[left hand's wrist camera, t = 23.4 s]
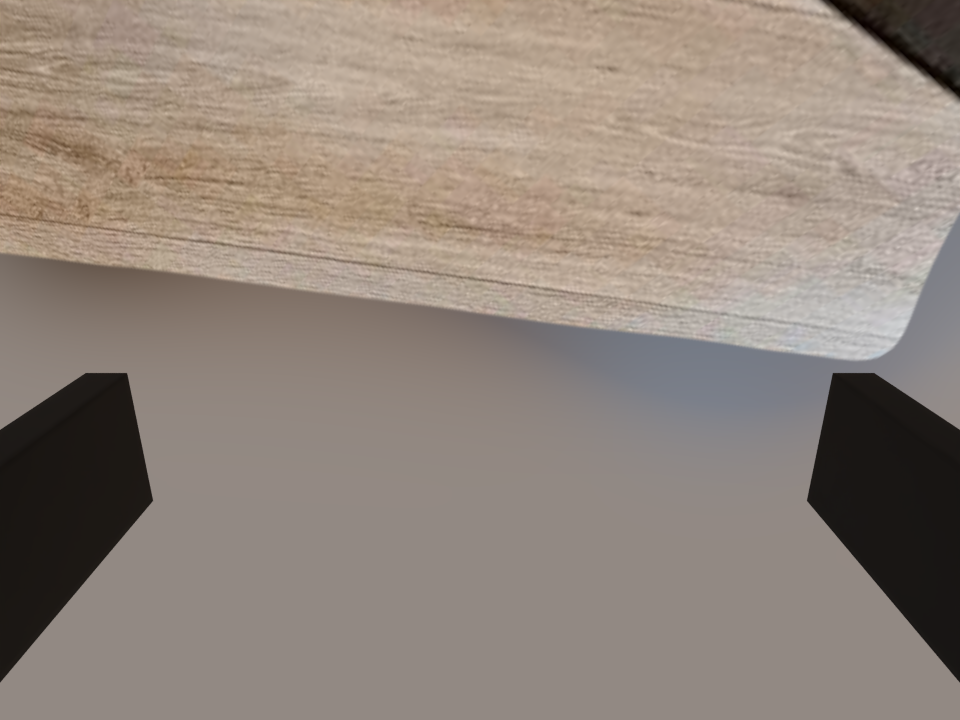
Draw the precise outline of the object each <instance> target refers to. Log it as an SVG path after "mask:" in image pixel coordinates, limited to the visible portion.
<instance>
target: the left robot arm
mask: <svg viewBox="0 0 960 720" xmlns="http://www.w3.org/2000/svg"><path fill="white" fill-rule="evenodd" d="M152 501H153V498H152V493H151V489H150V484H149V479H148V474H147V469H146V464H145V459H144V454H143V449H142V444H141V439H140V434H139V429H138V425H137V420H136V415H135V410H134V405H133V400H132V395H131V390H130V385H129V380H128V375H127V373H85V374H84V375H82V376H81V377H79V378H78V379H76V380H75V381H73V382H72V383H70V384H69V385H67V386H66V387H64V388H63V389H61V390H60V391H58V392H57V393H55V394H54V395H52V396H51V397H49V398H48V399H46V400H45V401H43V402H42V403H40V404H39V405H37V406H36V407H34V408H33V409H31V410H29V411H28V412H27V413H25V414H23V415H22V416H20V417H19V418H17V419H16V420H15V421H13V422H11V423H10V424H8V425H7V426H5V427H4V428H2V429H1V430H0V682H1V681H2V680H3V678H4V677H5V676H6V675H7V674H8V673H9V671H10V670H11V669H12V668H13V667H14V665H15V664H16V663H17V662H18V661H19V659H20V658H21V657H22V656H23V655H24V653H25V652H26V651H27V650H28V649H29V648H30V646H31V645H32V644H33V643H34V642H35V640H36V639H37V638H38V637H39V636H40V634H41V633H42V632H43V631H44V630H45V629H46V627H47V626H48V625H49V624H50V623H51V621H52V620H53V619H54V618H55V617H56V615H57V614H58V613H59V612H60V611H61V610H62V608H63V607H64V606H65V605H66V604H67V602H68V601H69V600H70V599H71V598H72V596H73V595H74V594H75V593H76V592H77V591H78V589H79V588H80V587H81V586H82V585H83V583H84V582H85V581H86V580H87V578H88V577H89V576H90V575H91V574H92V573H93V571H94V570H95V569H96V568H97V567H98V566H99V564H100V563H101V562H102V561H103V560H104V558H105V557H106V556H107V555H108V554H109V552H110V551H111V550H112V549H113V548H114V546H115V545H116V544H117V543H118V542H119V541H120V539H121V538H122V537H123V536H124V535H125V533H126V532H127V531H128V530H129V529H130V527H131V526H132V525H133V524H134V523H135V522H136V520H137V519H138V518H139V517H140V516H141V514H142V513H143V512H144V511H145V510H146V508H147V507H148V506H149V505H150V504H151V503H152ZM807 501H808V502H809V504H810V505H811V506H812V507H813V508H814V510H815V511H816V512H817V513H818V514H819V516H820V517H821V518H822V519H823V520H824V522H825V523H826V524H827V525H828V526H829V527H830V529H831V530H832V531H833V532H834V533H835V535H836V536H837V537H838V538H839V539H840V541H841V542H842V543H843V544H844V545H845V547H846V548H847V549H848V550H849V551H850V552H851V554H852V555H853V556H854V557H855V558H856V560H857V561H858V562H859V563H860V564H861V565H862V567H863V568H864V569H865V570H866V571H867V573H868V574H869V575H870V576H871V577H872V579H873V580H874V581H875V582H876V583H877V585H878V586H879V587H880V588H881V589H882V590H883V592H884V593H885V594H886V595H887V596H888V598H889V599H890V600H891V601H892V602H893V603H894V605H895V606H896V607H897V608H898V609H899V611H900V612H901V613H902V614H903V615H904V617H905V618H906V619H907V620H908V621H909V623H910V624H911V625H912V626H913V627H914V629H915V630H916V631H917V632H918V633H919V634H920V636H921V637H922V638H923V639H924V640H925V642H926V643H927V644H928V645H929V646H930V648H931V649H932V650H933V651H934V652H935V653H936V655H937V656H938V657H939V658H940V659H941V661H942V662H943V663H944V664H945V665H946V667H947V668H948V669H949V670H950V671H951V673H952V674H953V675H954V676H955V677H956V678H957V680H958V681H959V682H960V430H959V429H958V428H956V427H955V426H953V425H952V424H950V423H949V422H947V421H946V420H944V419H943V418H941V417H939V416H938V415H937V414H935V413H934V412H932V411H931V410H929V409H927V408H926V407H924V406H923V405H921V404H920V403H918V402H917V401H915V400H914V399H912V398H911V397H909V396H908V395H906V394H905V393H903V392H902V391H900V390H899V389H897V388H896V387H894V386H893V385H891V384H890V383H888V382H887V381H885V380H884V379H882V378H881V377H879V376H878V375H876V374H875V373H833V375H832V380H831V385H830V390H829V395H828V400H827V405H826V410H825V415H824V420H823V425H822V430H821V435H820V439H819V444H818V449H817V454H816V459H815V464H814V469H813V474H812V479H811V484H810V488H809V493H808V498H807Z"/></svg>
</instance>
